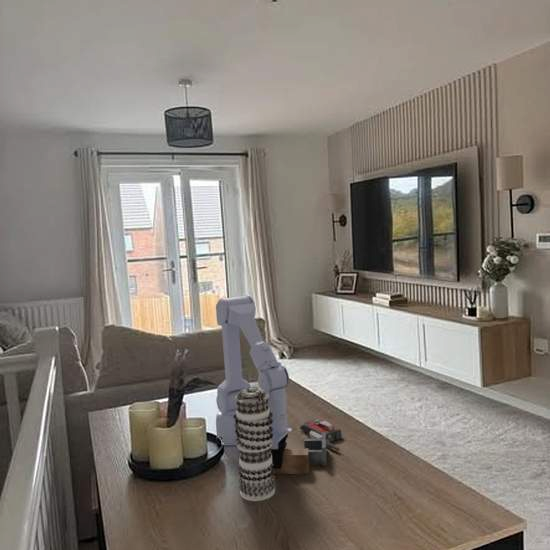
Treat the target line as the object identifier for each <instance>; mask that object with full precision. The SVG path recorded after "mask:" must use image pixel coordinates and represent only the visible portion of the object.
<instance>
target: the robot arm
mask: <svg viewBox="0 0 550 550" xmlns="http://www.w3.org/2000/svg"><path fill="white" fill-rule="evenodd" d="M256 310H257V309H256V303H255V301H254V298H253V297H252V296H251V295H249V294H247V295H245V296H244V295H242V296H235V297H228V298H219V300H218V301H217V302H216V304H215V313H216V321H217V322H216V324H217V326H220V327H221V334H222V337H221V338H222V347H223V360H224V361H223V362H224V374H225V376H224V377H225V379H224V380H223V381H222V382H221V383H220V384H219V385H218V386H217V388H216V389H217V392H216V400H215V401H216V406H217V409H218V411H217V413H216V418H215V427H216V428H215V429H216V439H217V438H219V439H220V438H221V439H220V440H222V442H223V443H224V445H223V446H237V444H238V443H237V441H236V438H237V437H236V436H237V435H236V433H235V430H236V427H235V426H234V425H235V418H233V416H234V415H235V414H236V410H237V401H236V400H235V396H237V395H238V393H239V392H240V391H241V390H242V389H245V388H249V387H252V386H251V384H250V382H249V381H247V380H246V379H244V378H243V367H242V366H243V365H242V354H241V353H242V352H241V340H240V339H241V338H240V329H241V331H242V333H243V335H244V336H245V339H246V340H247V342H248V343H249V345H250V347H251V348H250V350H249V355H250V357H251V359H252V361H253V364H254V367H255V368H256V371H257V373H258V378H257V383H258V387H259V388H261V389H263V390H264V391H265V393H267V394H269V397H268V406H269V411H270V412H272V413H273V416H272V417H271V419H272V420H273V423H272V424H270V425H269V426H271V427H272V428H273V431H272V432H270V433H272V434H273V437H272V438H271V440H272V446H271V454H272V461H273V463H274V465H273V466H274V467H273V469H281V467H282V460H283V453H284V450H285V449H287V448H286V447H287V443H288V442H287V439H288V437H289V435H291V434H292V431H293V428H291V427H288V420H287V419H288V418H287V401H286V399H287V397H286V388H287V387H289V384H290V376H289V371H288V370H287V367H286V366H285V365H283V364H282V362H280V361H278V360H277V357H276V356H275V353H274V352H273V350H272V347H271V345H270V343H269V342H266V341H264V339H263V337H262V333H261V331H260V329H259V326H258V323H257V321H256V318H255V316H256ZM236 417H237V416H236ZM268 417H269V416H268ZM237 425H238V424H237ZM238 432H239V430H238Z"/></svg>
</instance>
